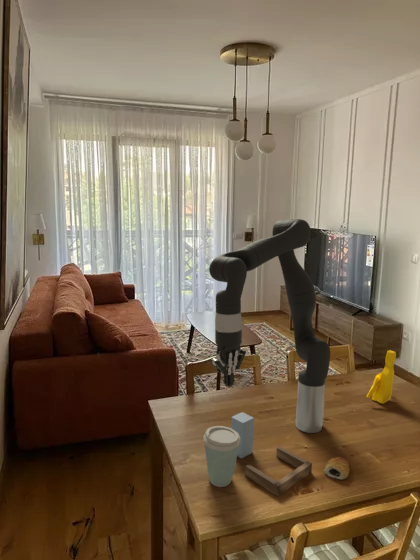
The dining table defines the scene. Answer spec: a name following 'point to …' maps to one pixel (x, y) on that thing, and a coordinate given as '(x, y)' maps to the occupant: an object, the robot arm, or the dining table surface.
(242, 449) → the slate block
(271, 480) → the walnut bay
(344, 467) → the pastry
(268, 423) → the dining table surface
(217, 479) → the disposable coffee cup
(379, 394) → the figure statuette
